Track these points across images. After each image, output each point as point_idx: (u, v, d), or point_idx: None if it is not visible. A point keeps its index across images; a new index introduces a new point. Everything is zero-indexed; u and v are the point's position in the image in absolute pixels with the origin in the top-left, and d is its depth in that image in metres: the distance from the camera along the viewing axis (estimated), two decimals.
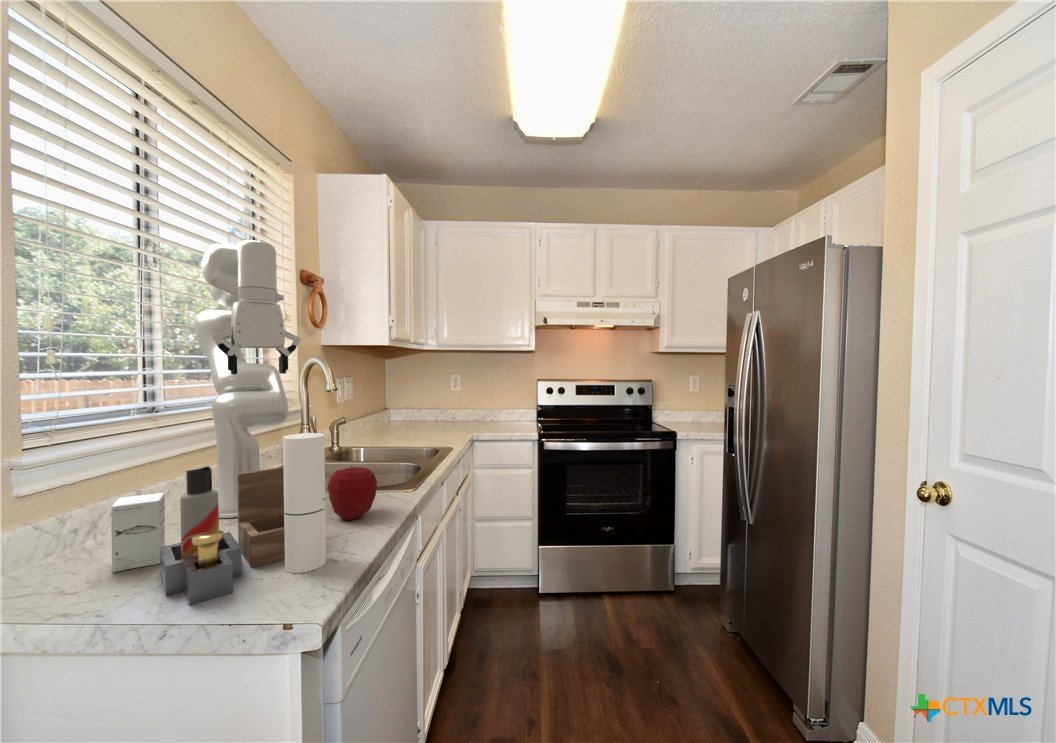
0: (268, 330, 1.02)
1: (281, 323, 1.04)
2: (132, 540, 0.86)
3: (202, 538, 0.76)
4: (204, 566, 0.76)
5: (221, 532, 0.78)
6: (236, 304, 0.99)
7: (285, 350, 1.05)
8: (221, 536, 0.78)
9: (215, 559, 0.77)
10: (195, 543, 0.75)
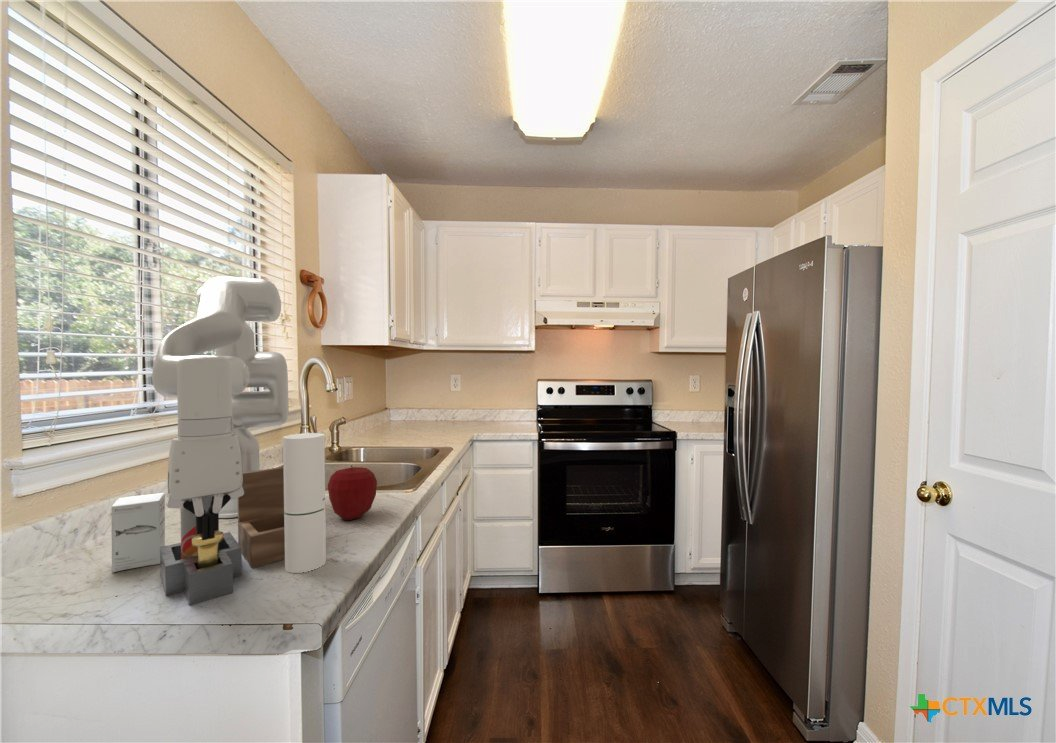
0: (219, 473, 0.76)
1: (238, 459, 0.78)
2: (132, 540, 0.86)
3: (202, 539, 0.76)
4: (204, 567, 0.76)
5: (221, 533, 0.78)
6: (174, 443, 0.73)
7: (214, 505, 0.77)
8: (221, 537, 0.78)
9: (215, 560, 0.77)
10: (195, 544, 0.75)
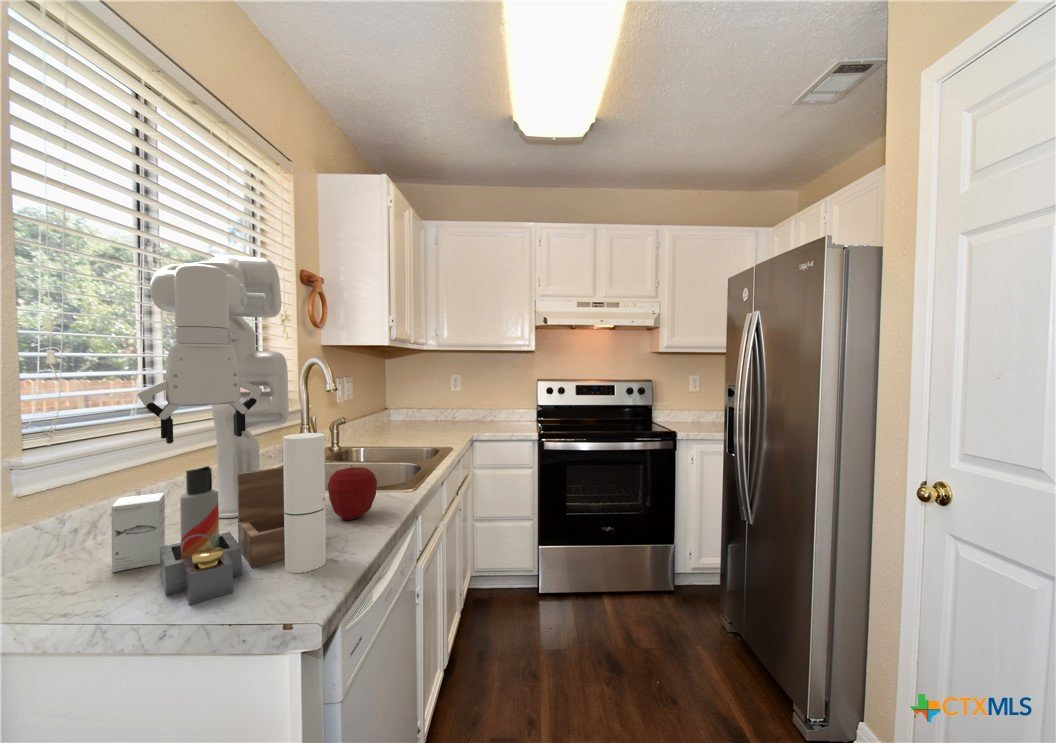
0: (217, 382, 0.77)
1: (235, 372, 0.79)
2: (132, 540, 0.86)
3: (202, 556, 0.76)
4: None
5: (221, 549, 0.78)
6: (172, 350, 0.74)
7: (241, 406, 0.80)
8: (221, 554, 0.78)
9: None
10: (195, 561, 0.75)
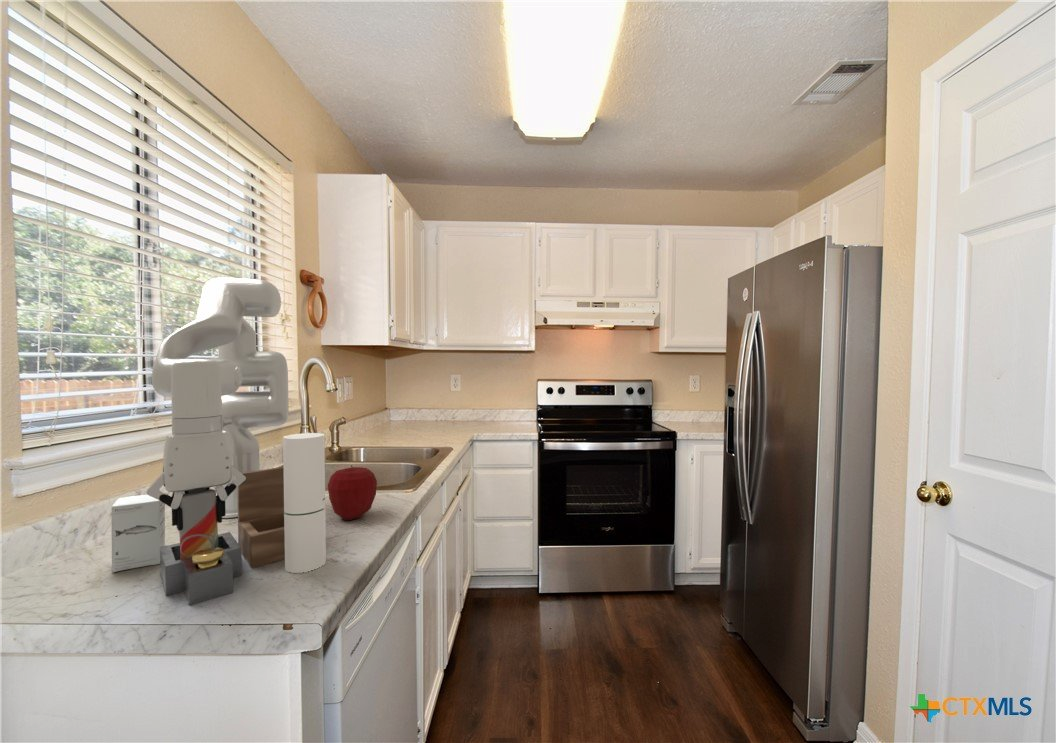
0: (210, 467, 0.83)
1: (227, 455, 0.85)
2: (132, 540, 0.86)
3: (202, 556, 0.76)
4: None
5: (221, 549, 0.78)
6: (168, 440, 0.80)
7: (221, 493, 0.85)
8: (221, 554, 0.78)
9: None
10: (195, 561, 0.75)
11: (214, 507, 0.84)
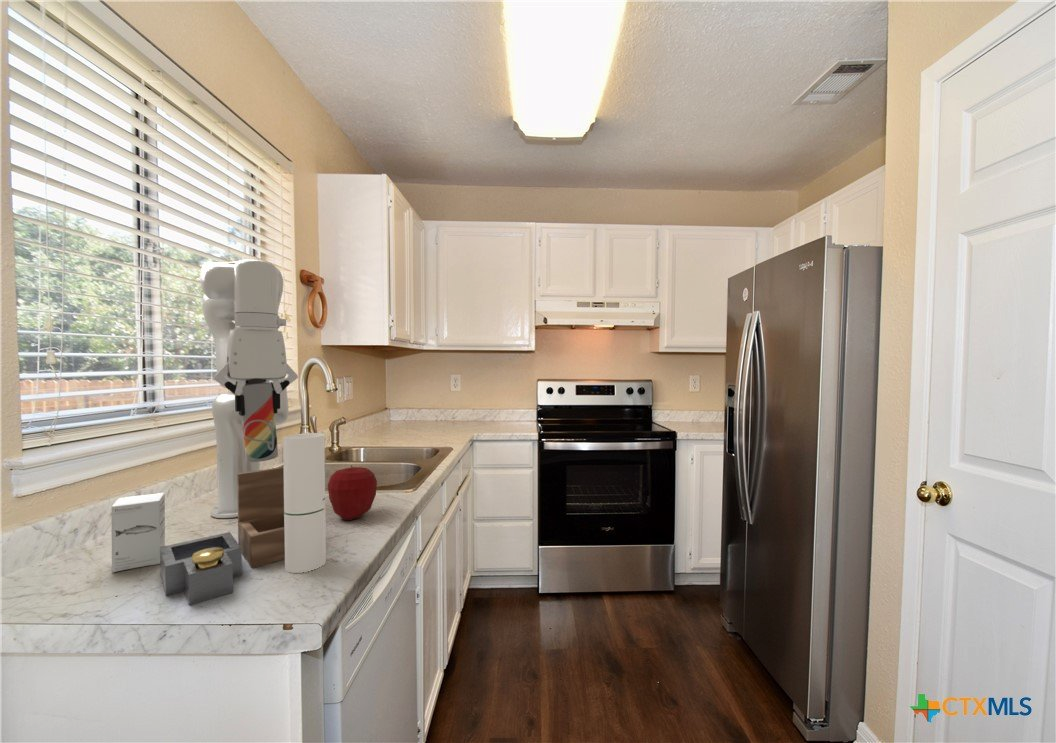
0: (268, 360, 0.91)
1: (283, 352, 0.93)
2: (132, 540, 0.86)
3: (202, 556, 0.76)
4: None
5: (221, 549, 0.78)
6: (232, 332, 0.88)
7: (277, 387, 0.93)
8: (221, 554, 0.78)
9: None
10: (195, 561, 0.75)
11: (271, 397, 0.92)
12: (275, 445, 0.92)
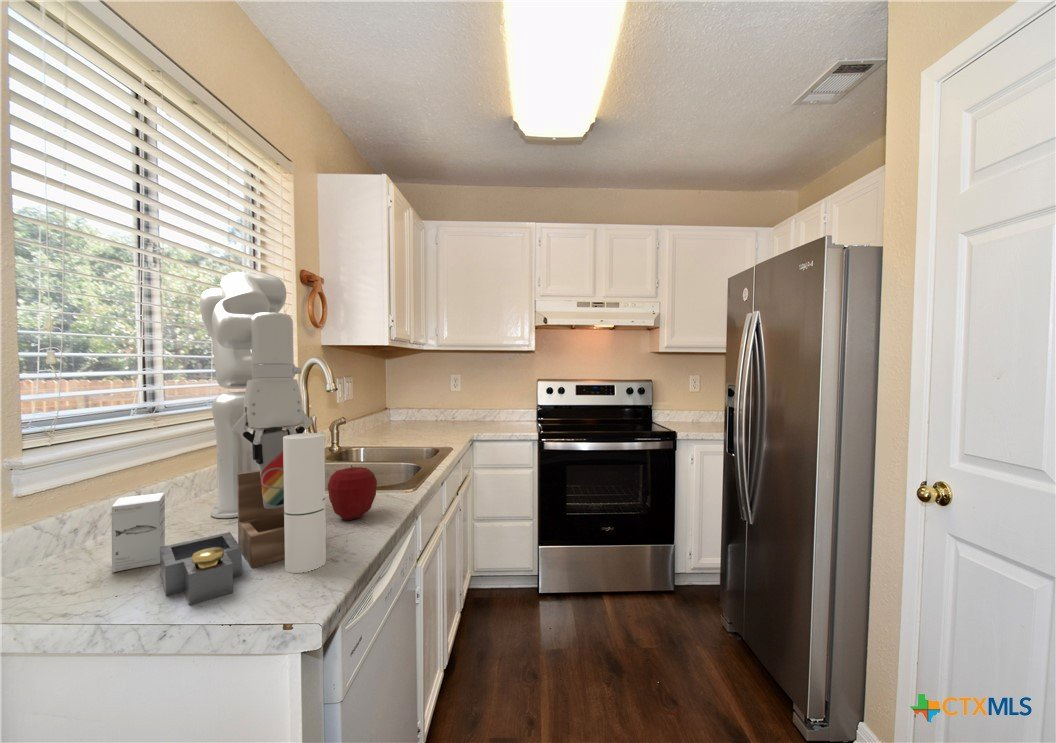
0: (285, 409, 0.93)
1: (299, 399, 0.95)
2: (132, 540, 0.86)
3: (202, 556, 0.76)
4: None
5: (221, 549, 0.78)
6: (250, 383, 0.90)
7: (292, 434, 0.95)
8: (221, 554, 0.78)
9: None
10: (195, 561, 0.75)
11: None
12: None
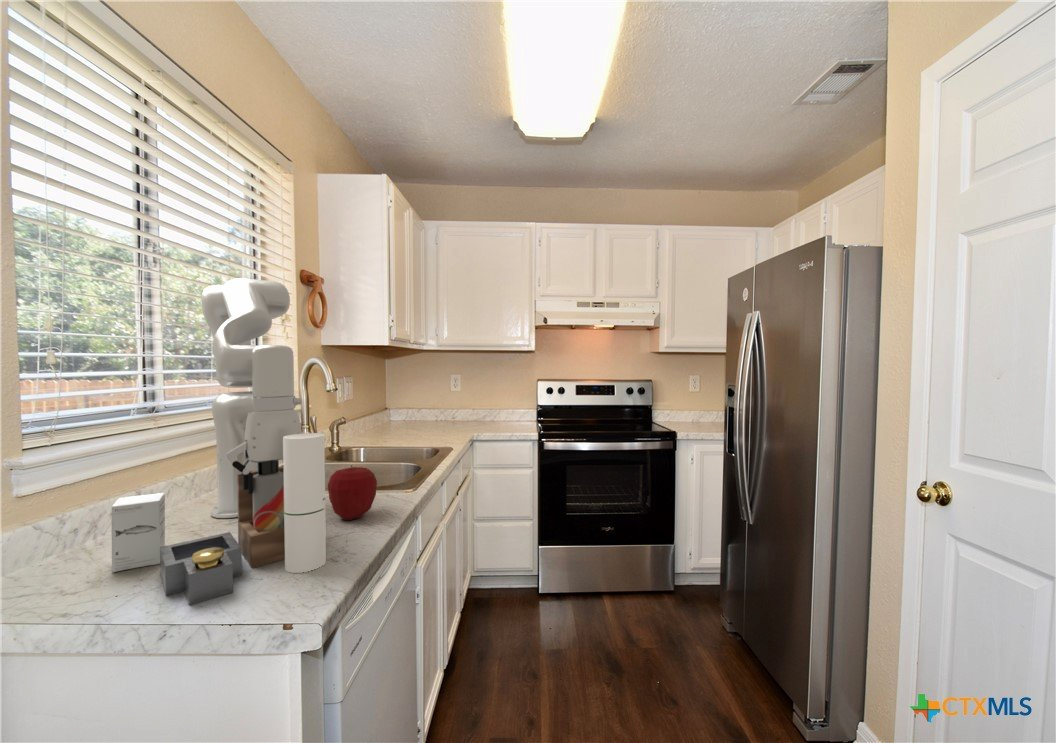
0: None
1: (299, 431, 0.95)
2: (132, 540, 0.86)
3: (202, 556, 0.76)
4: None
5: (221, 549, 0.78)
6: (251, 416, 0.90)
7: None
8: (221, 554, 0.78)
9: None
10: (195, 561, 0.75)
11: (283, 487, 0.94)
12: None
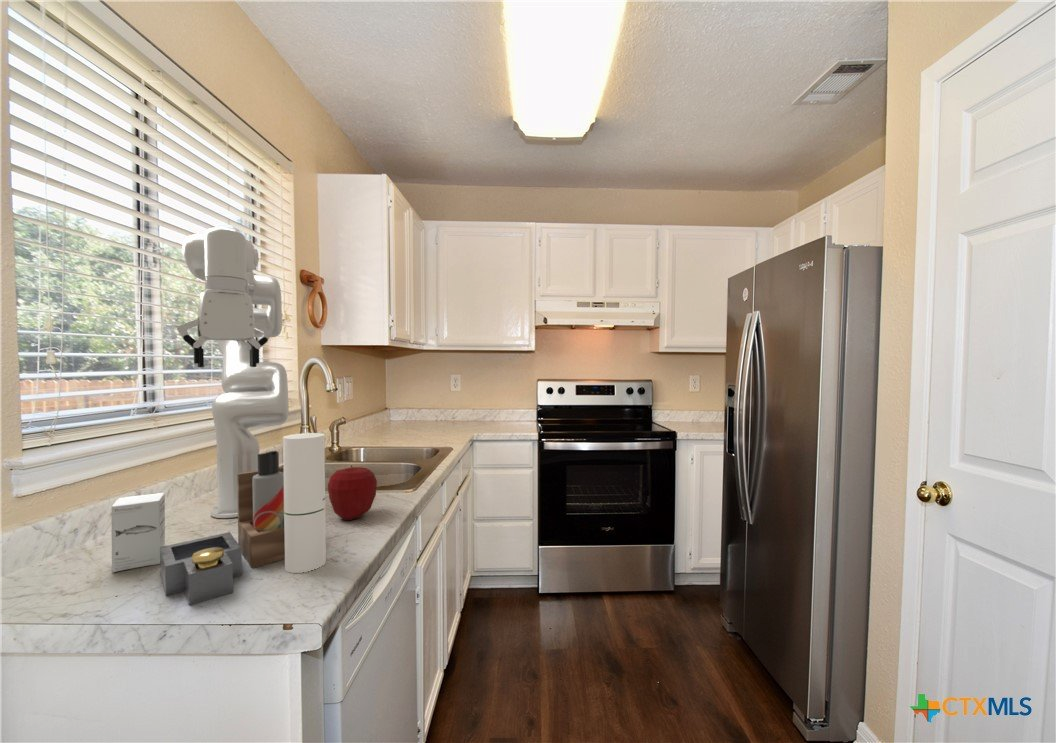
0: (237, 322, 0.98)
1: (251, 314, 1.00)
2: (132, 540, 0.86)
3: (202, 556, 0.76)
4: None
5: (221, 549, 0.78)
6: (202, 294, 0.95)
7: (256, 343, 1.01)
8: (221, 554, 0.78)
9: None
10: (195, 561, 0.75)
11: (283, 487, 0.94)
12: None
